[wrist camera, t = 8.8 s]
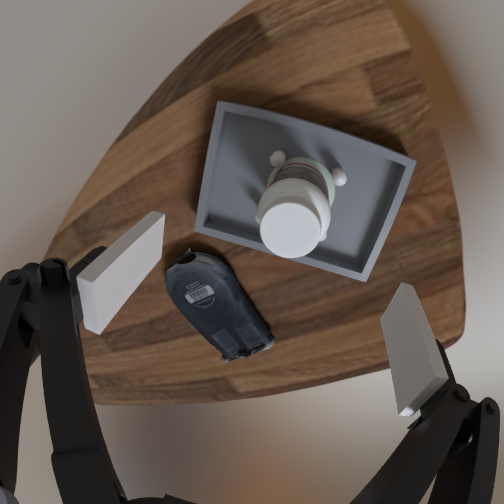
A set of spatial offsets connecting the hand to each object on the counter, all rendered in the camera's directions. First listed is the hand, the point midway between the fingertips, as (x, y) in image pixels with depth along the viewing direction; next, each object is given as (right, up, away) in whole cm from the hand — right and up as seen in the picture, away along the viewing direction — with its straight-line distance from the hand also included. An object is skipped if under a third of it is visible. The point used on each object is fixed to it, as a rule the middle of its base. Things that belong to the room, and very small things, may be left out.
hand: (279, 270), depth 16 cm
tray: (+3, +7, +13) cm, 15 cm away
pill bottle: (+3, +7, +12) cm, 14 cm away
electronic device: (-5, -5, +22) cm, 23 cm away
